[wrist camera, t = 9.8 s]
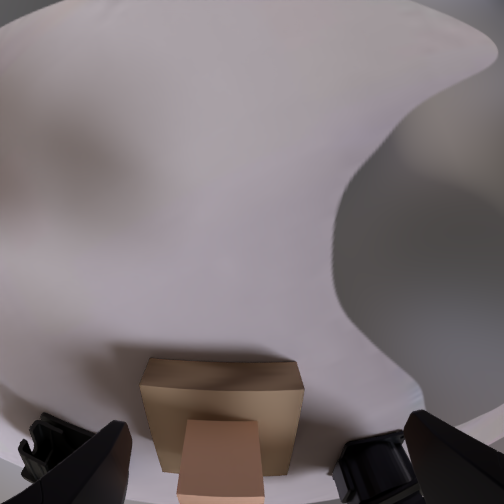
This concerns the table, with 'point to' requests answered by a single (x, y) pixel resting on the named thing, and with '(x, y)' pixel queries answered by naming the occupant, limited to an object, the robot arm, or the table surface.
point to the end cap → (51, 446)
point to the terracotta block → (221, 463)
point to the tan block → (223, 405)
